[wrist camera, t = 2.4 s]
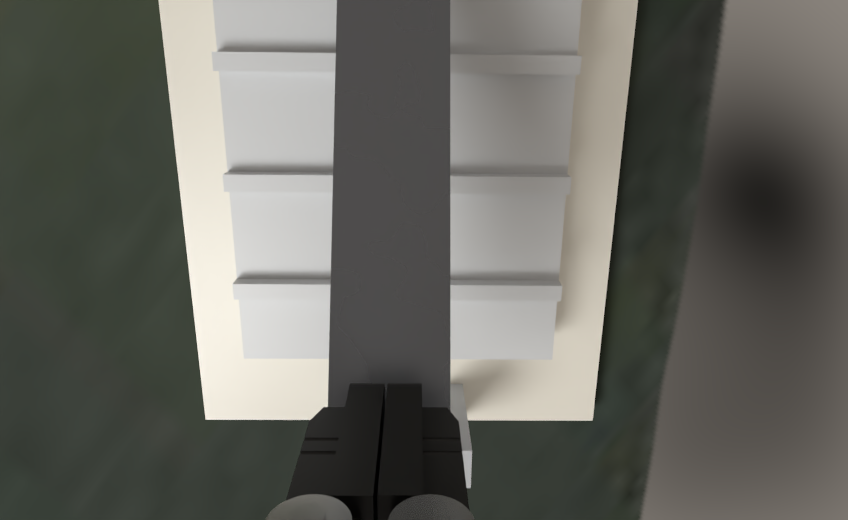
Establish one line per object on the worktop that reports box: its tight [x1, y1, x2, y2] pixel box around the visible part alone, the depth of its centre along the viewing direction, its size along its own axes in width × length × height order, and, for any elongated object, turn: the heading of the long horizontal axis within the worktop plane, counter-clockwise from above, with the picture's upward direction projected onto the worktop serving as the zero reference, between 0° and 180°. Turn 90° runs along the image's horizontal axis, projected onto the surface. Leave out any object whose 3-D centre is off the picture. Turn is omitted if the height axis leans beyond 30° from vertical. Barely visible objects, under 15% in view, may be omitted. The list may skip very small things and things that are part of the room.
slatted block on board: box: [159, 0, 638, 488], centre depth 22 cm, size 22×17×6 cm
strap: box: [328, 0, 451, 411], centre depth 17 cm, size 21×3×1 cm, turn 1°
